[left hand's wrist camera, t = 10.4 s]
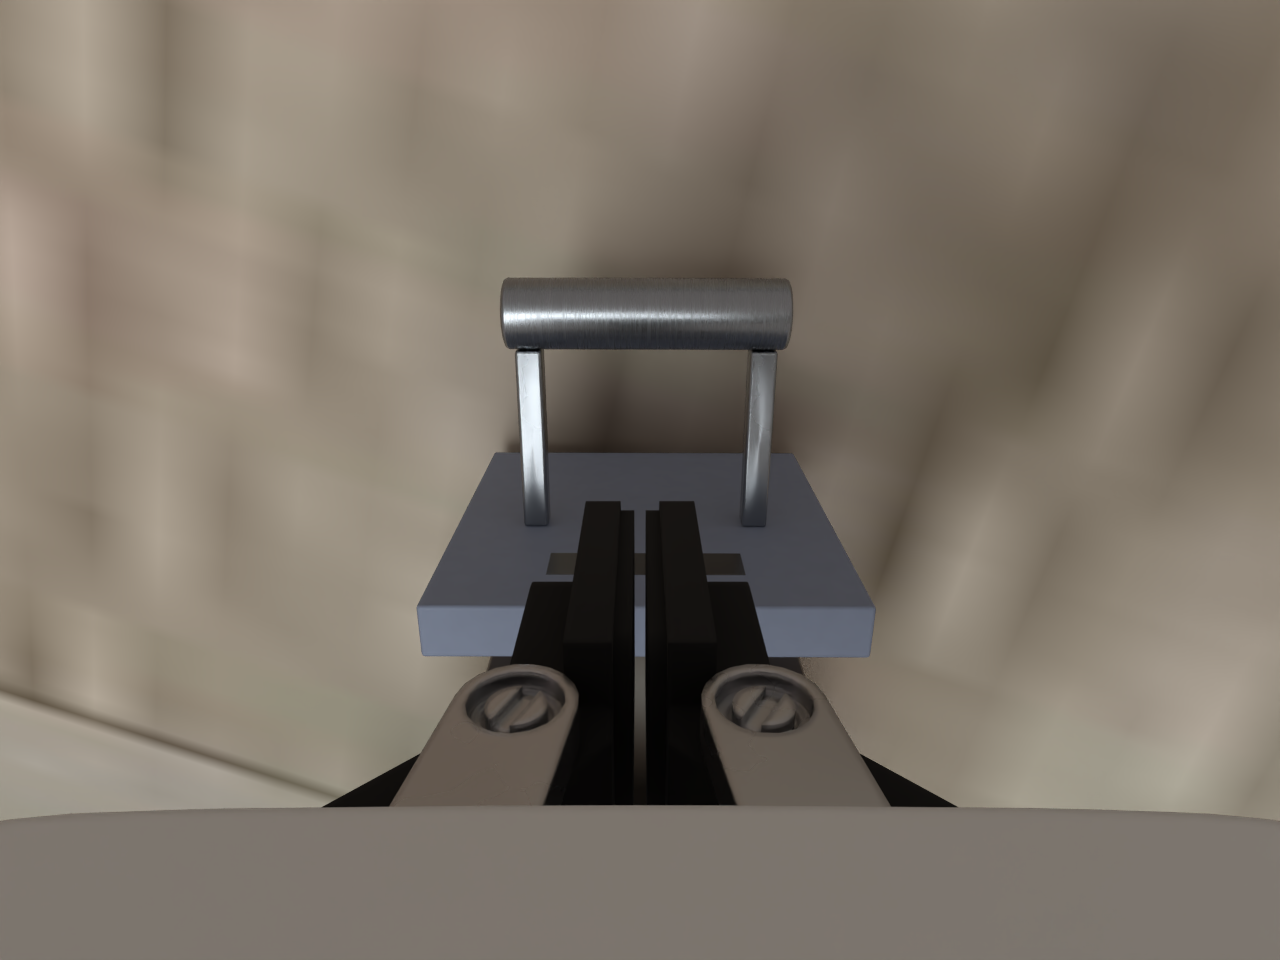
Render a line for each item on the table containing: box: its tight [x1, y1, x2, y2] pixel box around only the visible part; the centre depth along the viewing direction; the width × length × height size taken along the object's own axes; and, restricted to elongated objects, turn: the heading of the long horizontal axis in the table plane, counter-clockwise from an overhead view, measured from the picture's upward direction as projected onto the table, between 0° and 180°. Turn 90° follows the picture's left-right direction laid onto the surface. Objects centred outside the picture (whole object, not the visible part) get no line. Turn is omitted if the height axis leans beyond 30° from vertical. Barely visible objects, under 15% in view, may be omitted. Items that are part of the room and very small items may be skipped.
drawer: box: [417, 278, 876, 805], centre depth 22 cm, size 24×9×9 cm, turn 0°
